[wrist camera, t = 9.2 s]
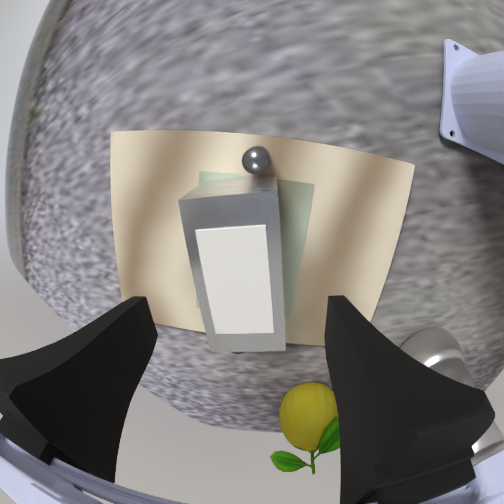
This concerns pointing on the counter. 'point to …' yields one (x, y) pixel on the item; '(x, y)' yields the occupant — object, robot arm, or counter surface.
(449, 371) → the plastic bottle
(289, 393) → the lemon
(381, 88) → the counter surface
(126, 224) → the pin tray
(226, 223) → the block
